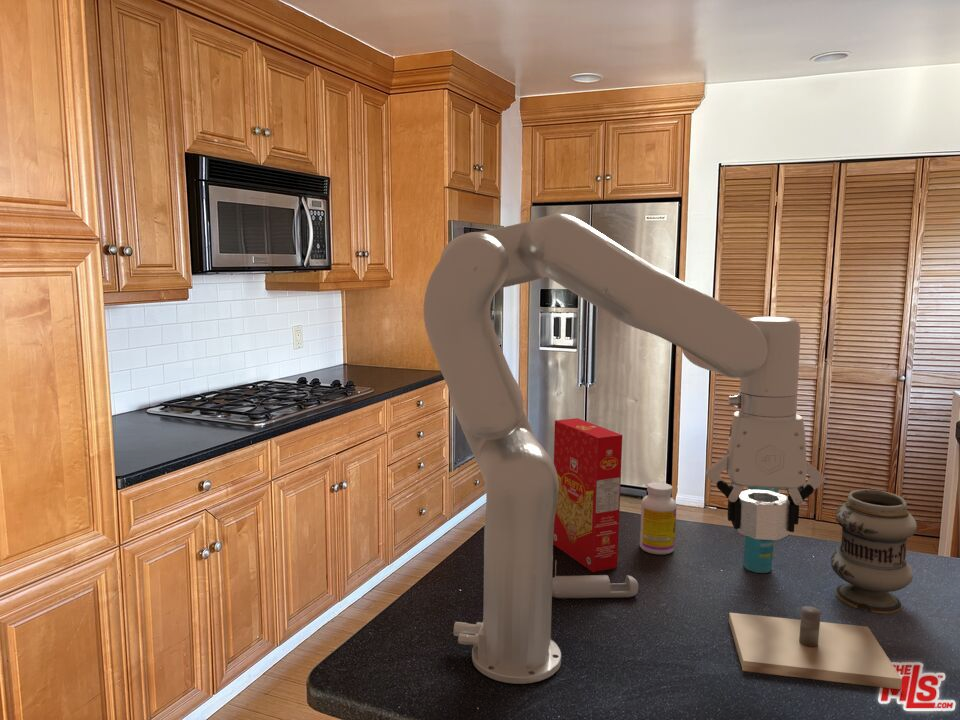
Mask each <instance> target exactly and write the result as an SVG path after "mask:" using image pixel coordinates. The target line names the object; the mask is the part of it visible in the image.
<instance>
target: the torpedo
mask: <svg viewBox="0 0 960 720" xmlns="http://www.w3.org/2000/svg"><path fill="white" fill-rule="evenodd" d="M554 561H555V571H554V577H553V576H552V598H556V599H606V598H607V599H608V598H609V599H612V598H613V599H614V598H615V599H617V598H618V599H619V598H620V599H621V598H622V599H623V598H633V597H635V596H636V595H637V594H638V591H639V583H638V581H637V579H635V578H634V577H633V576H632V575H625V579H624V580H625V581H624V582H623V583H622V582H619V583H614V582H613V583H611V579H610V577H609V575H608V574H607V575H606V574H599V575H598V574H597V575H593V574H592V575H590V574H589V575H557V559H555V560H554Z"/></svg>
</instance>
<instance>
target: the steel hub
mask: <svg viewBox="0 0 960 720" xmlns="http://www.w3.org/2000/svg"><path fill="white" fill-rule="evenodd" d="M739 502H740V504H741V513H740V528H738V529H736V530H737V532H738V533H739V534H741V535H743V536H745V535H746V536H749V537H752V538H754V539H764V540H774V541H778V540H780V539H783V538H786V537H788V536H789V531H788V526H789V508H790V501H789V500H788V496H786V495H785V494H781V493H779V492H778V493H775V492H772V491H769V490H748V489H747V490H742V492H741V493H740V495H739Z"/></svg>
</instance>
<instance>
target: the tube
mask: <svg viewBox="0 0 960 720" xmlns="http://www.w3.org/2000/svg"><path fill="white" fill-rule="evenodd" d="M779 489H780V488H760V487H747V490H769V491H772V492H775V493H779ZM774 542H775V540H764V539H754V538H752V537H749V536H746V535H744V547H743V551H744V552H743V567H744V568H745V569H746V570H747V571H750V572H753V573H761V574H767V573H770V572H771V571H772V567H773V557H774V556H773V555H774Z"/></svg>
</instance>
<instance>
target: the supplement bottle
mask: <svg viewBox="0 0 960 720" xmlns="http://www.w3.org/2000/svg"><path fill="white" fill-rule="evenodd" d="M646 491H647V494H648V495H645V496H644V497H643V498H642V500H641V509H640V510H641V511H640V527H639V529H640V531H639V546H640V549H642V551H644V552H647V553H648V554H653V555H661V556H662V555H668V554H671V553H673V552H674V550H675V544H676V524H677V523H676V522H677V502H676V500H675V499H674V498H673V497H671V495H672V494H673V485H671V484H668V483H665V482H660V481H658V482H657V481H656V482H655V481H654V482H649V483H648V484H647V488H646Z"/></svg>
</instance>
